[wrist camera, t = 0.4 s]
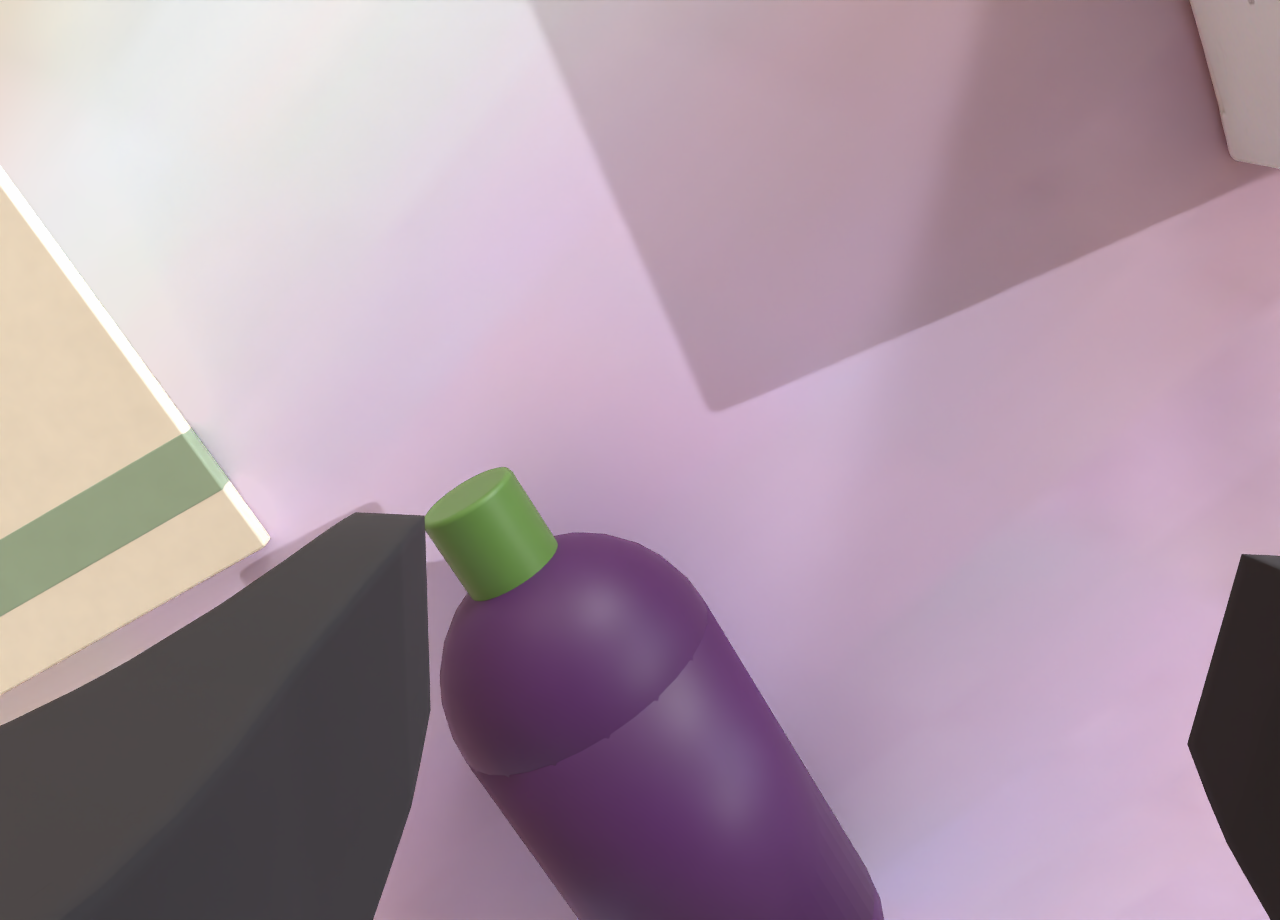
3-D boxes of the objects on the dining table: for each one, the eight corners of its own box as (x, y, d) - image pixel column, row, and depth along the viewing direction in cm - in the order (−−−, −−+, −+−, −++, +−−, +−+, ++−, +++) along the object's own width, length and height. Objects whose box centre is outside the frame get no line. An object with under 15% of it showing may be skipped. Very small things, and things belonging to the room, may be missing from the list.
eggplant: (897, 887, 24) (962, 1073, 20) (693, 983, 25) (713, 1184, 20) (595, 383, 20) (593, 472, 16) (366, 510, 21) (305, 629, 17)
